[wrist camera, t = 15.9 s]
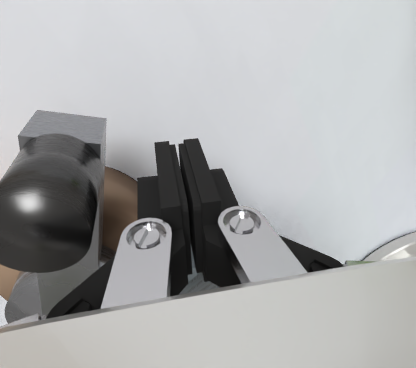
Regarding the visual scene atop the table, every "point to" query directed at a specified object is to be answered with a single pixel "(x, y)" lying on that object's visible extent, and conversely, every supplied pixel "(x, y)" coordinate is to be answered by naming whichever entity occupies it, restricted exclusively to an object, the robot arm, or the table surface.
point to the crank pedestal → (112, 219)
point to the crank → (53, 210)
